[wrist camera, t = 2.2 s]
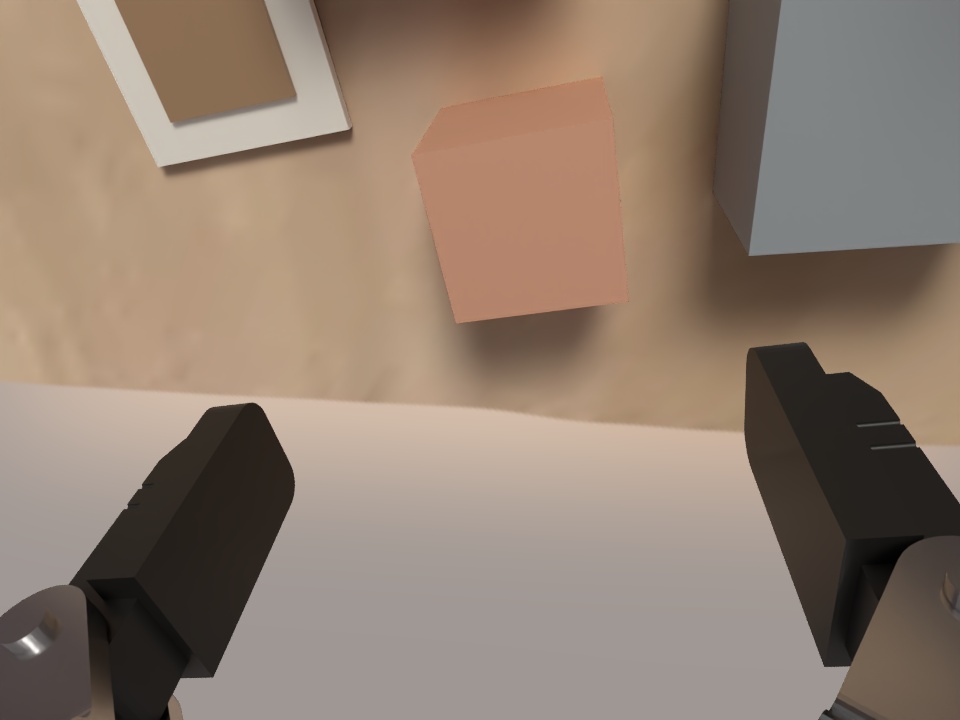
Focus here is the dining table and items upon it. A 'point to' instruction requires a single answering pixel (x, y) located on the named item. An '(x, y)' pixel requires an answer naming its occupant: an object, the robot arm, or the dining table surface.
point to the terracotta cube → (525, 202)
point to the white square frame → (219, 72)
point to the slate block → (840, 124)
